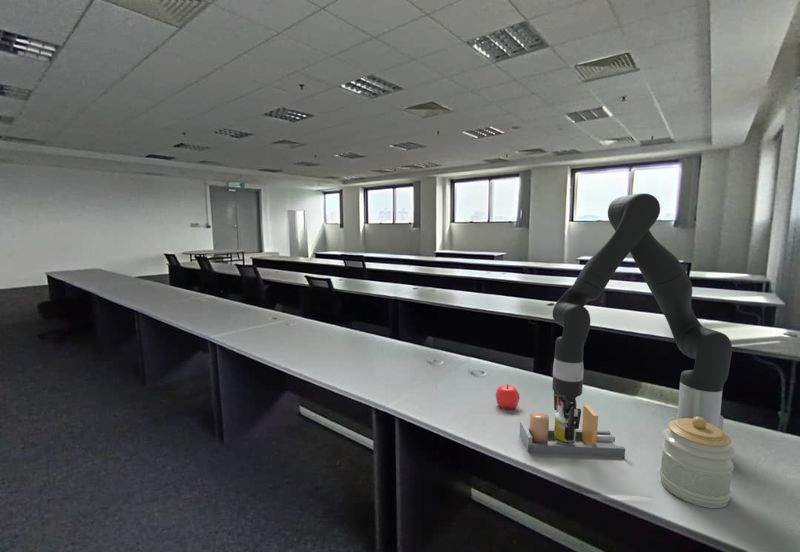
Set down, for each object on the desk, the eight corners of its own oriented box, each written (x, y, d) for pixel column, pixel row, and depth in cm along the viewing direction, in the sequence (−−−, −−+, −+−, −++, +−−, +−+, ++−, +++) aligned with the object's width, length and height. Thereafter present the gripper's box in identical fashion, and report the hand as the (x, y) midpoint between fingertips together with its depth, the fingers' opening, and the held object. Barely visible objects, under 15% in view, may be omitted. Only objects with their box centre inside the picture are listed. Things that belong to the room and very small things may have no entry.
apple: (490, 404, 132) (490, 382, 131) (508, 400, 135) (509, 378, 134) (505, 414, 124) (505, 390, 124) (524, 409, 128) (525, 386, 127)
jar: (668, 501, 84) (674, 425, 82) (652, 467, 96) (658, 401, 94) (741, 516, 79) (750, 437, 77) (715, 479, 91) (722, 409, 89)
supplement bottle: (557, 433, 109) (558, 400, 108) (577, 439, 105) (579, 406, 104) (551, 441, 105) (552, 407, 103) (571, 448, 101) (573, 413, 100)
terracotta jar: (544, 438, 108) (545, 412, 107) (550, 448, 103) (551, 420, 102) (526, 438, 108) (527, 411, 107) (531, 448, 103) (532, 420, 102)
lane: (608, 440, 109) (609, 423, 108) (624, 458, 100) (625, 440, 99) (519, 437, 110) (520, 420, 110) (527, 454, 101) (528, 437, 101)
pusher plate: (607, 439, 107) (609, 405, 106) (619, 452, 101) (621, 416, 100) (581, 438, 108) (583, 404, 107) (591, 451, 101) (593, 415, 100)
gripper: (593, 386, 95) (590, 449, 97) (571, 366, 110) (569, 421, 112) (563, 385, 96) (560, 448, 98) (545, 365, 110) (543, 420, 112)
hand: (564, 433), depth 105 cm, fingers closed on supplement bottle, 5 cm apart
